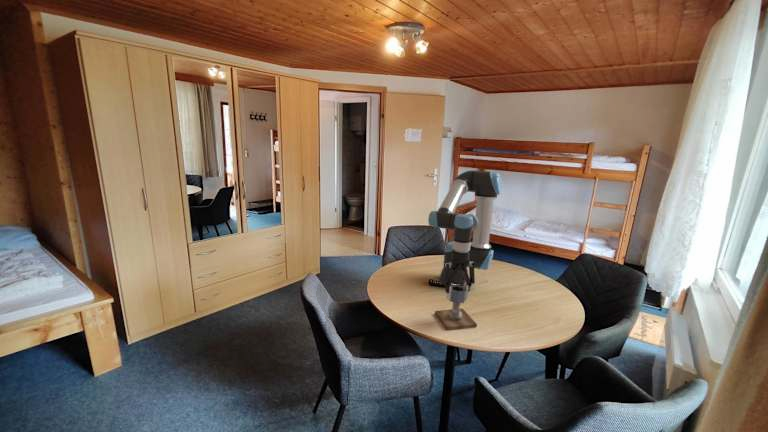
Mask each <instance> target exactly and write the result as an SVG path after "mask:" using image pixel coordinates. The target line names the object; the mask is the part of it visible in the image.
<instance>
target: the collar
mask: <svg viewBox="0 0 768 432" xmlns="http://www.w3.org/2000/svg"><path fill="white" fill-rule="evenodd" d="M450 286H451V287H452V289H451V300H450V301H449V302H452V303H453V302H455V303H460V304H464V303H465V301H467V299H466V294H467V289H466V288H465V287H464V285H450Z"/></svg>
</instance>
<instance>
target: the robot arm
mask: <svg viewBox="0 0 768 432" xmlns="http://www.w3.org/2000/svg"><path fill="white" fill-rule="evenodd" d="M467 192H471V193H474V197H475V198H476V206H475V207H476V208H475V214H472V213H468V214H467V213H455V212H456V210H457V208H458V206H459V205H460V202H461V201H462V198H463V196H464V195H466V194H467ZM501 192H502V179H501V175H500V173H499V172H496V171H483V170H482V171H481V170H466V171H464V172H461V173H460V174H458V175H457V176H456V177H455V178H454V179H453V180H451V183H450V189H449V190H448V192H447V194H446V195H445V197H444V199H443V201H442V202H441V205H440V206H439V208H438V210H432V211H430V212H429V215H428V219H427V221H428V222H427V223H428V225H429V226H430V227H433V228H437V229H443V230H444V229H446V230H453V235H452V236H453V238H452V241H449V242H447V243H446V244H445V247H444V250H443V251H444V252H443V253H444V255H443V268H442V269H441V271H440V274H439V281H440V280H441V281H442V282H441V281H440V282H441V284H442V285H443V286H445V293H446V297H445V298H446V299H447V301H449V302H451V301H450V300H451V289H452V287H451V286H452V285H451V283H453V284H462V285H461V286H463V287H465V288H466V289H467V294H466V300H468V297H469V295H468V294H469V292H470V289H471V287H472V285H473V284H475V283H476V282H475V269H476V270H477V269H478V270H482V271H487V270H489V268H490V267H491V264H492V260H493V258H494V252H495V251H494V250H493V249H492V245H491V244H490V235H491V234H490V233H491V224H492V218H493V216H492V215H493V208H494V202H495V201H494V200H496V199H497V198H498V196H499V195H500V194H501ZM472 235H473V236H472ZM467 267H468V268H467ZM468 270H469V273H468Z"/></svg>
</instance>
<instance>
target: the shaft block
mask: <svg viewBox="0 0 768 432" xmlns="http://www.w3.org/2000/svg"><path fill="white" fill-rule="evenodd" d="M434 315H435V317H437V318H438V320H439V321H440V323H441V324H442V325H443V327H444V328H445V330H446V331H452V330H461V329H472V328H477V327H478V324H477V323H476V321H475V320H474V319H473V318H472V317H471V316H470V315H469V314H468V313H467V312H466V310H465V309H464V308H462V307H461V303H455V302H452V309H442V310H435V311H434Z"/></svg>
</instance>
